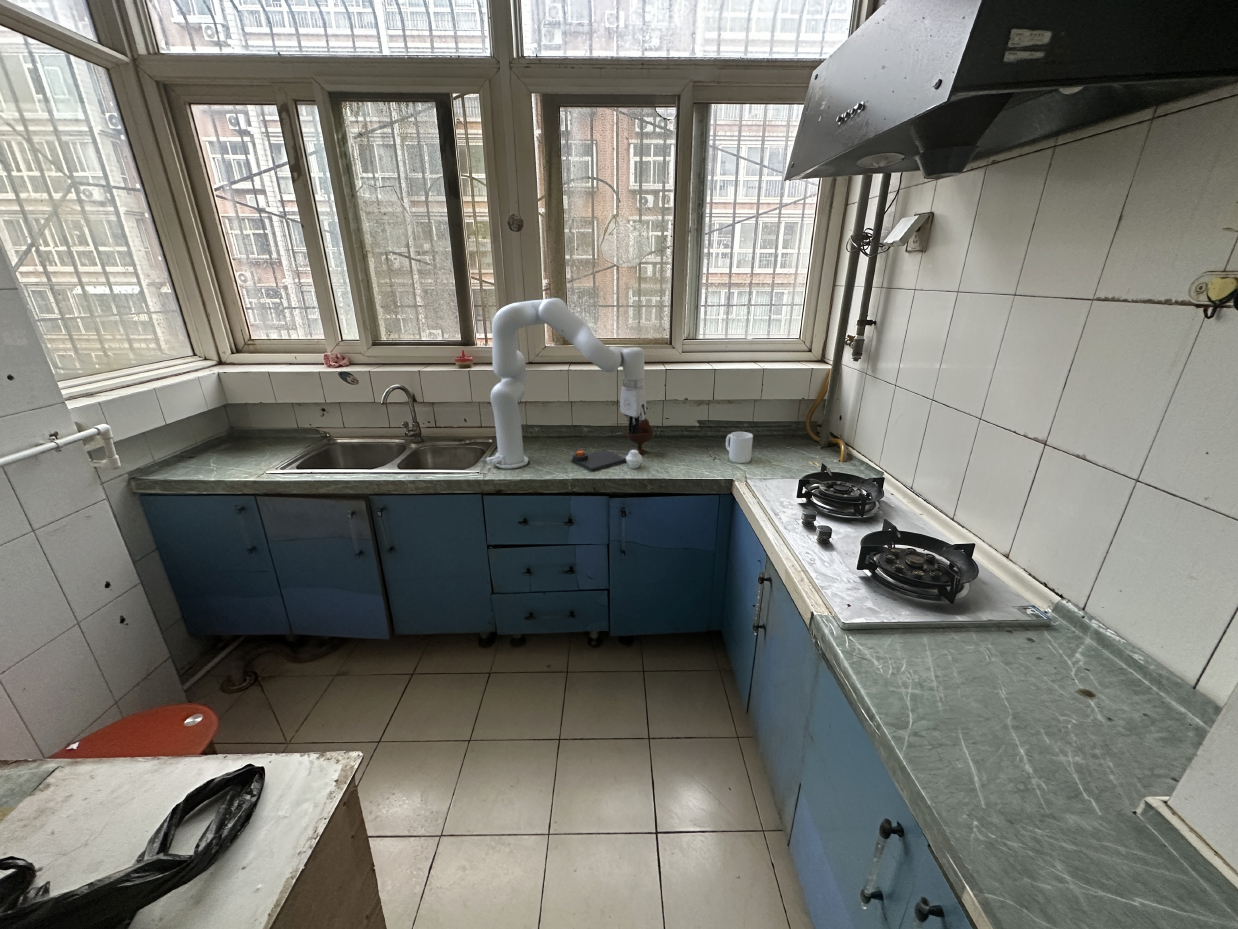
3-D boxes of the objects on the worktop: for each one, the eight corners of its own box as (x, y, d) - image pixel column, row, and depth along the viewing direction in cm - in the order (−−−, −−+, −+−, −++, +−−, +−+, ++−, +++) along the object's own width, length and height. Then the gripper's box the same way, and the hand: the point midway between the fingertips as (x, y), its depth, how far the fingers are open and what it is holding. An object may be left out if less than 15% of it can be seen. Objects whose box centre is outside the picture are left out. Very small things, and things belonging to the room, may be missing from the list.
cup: (739, 465, 188) (742, 439, 184) (717, 456, 197) (719, 431, 194) (755, 460, 192) (757, 435, 189) (732, 452, 202) (734, 428, 198)
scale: (591, 472, 183) (591, 464, 182) (570, 461, 193) (570, 454, 192) (626, 462, 192) (626, 454, 191) (604, 452, 203) (604, 445, 202)
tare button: (579, 457, 190) (579, 453, 190) (575, 455, 192) (575, 451, 192) (585, 455, 192) (585, 451, 191) (581, 453, 194) (581, 449, 193)
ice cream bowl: (653, 448, 207) (653, 413, 201) (652, 457, 196) (652, 421, 191) (627, 447, 208) (627, 413, 202) (625, 457, 197) (625, 420, 192)
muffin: (630, 471, 183) (630, 453, 181) (622, 466, 188) (622, 448, 186) (645, 468, 186) (645, 450, 183) (637, 463, 191) (637, 445, 188)
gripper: (612, 381, 179) (613, 430, 186) (639, 388, 168) (639, 440, 175) (628, 378, 184) (628, 426, 190) (655, 385, 172) (655, 436, 179)
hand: (633, 433), depth 182 cm, fingers closed
